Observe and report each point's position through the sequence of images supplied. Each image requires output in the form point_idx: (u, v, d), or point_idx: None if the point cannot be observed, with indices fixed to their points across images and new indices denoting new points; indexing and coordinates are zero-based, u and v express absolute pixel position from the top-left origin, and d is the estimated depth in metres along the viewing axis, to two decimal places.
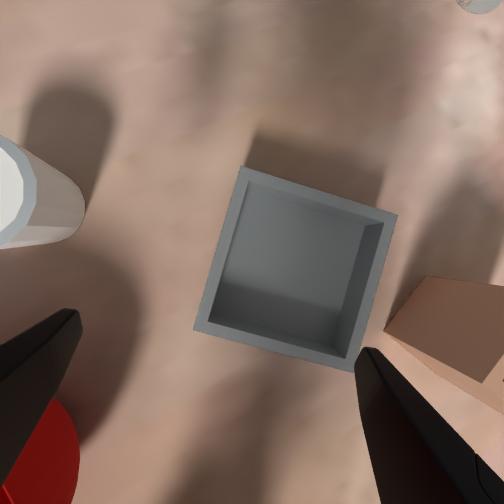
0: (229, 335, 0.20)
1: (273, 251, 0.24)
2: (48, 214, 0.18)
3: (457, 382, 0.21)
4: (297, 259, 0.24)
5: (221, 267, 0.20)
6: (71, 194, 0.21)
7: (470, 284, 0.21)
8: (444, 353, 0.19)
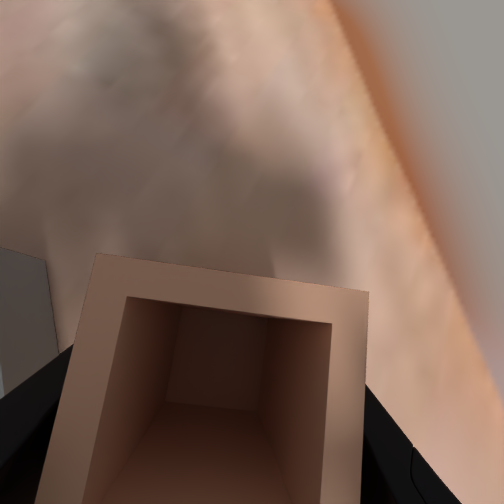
0: None
1: None
2: None
3: None
4: None
5: None
6: None
7: None
8: None
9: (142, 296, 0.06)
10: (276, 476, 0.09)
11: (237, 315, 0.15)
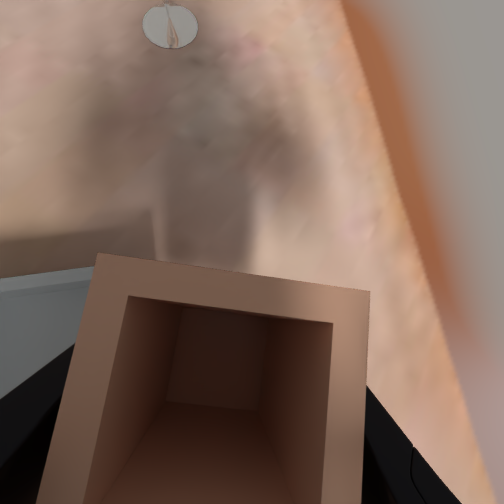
0: None
1: (47, 352, 0.20)
2: None
3: None
4: None
5: None
6: None
7: None
8: None
9: (143, 295, 0.06)
10: (277, 475, 0.09)
11: (237, 315, 0.15)
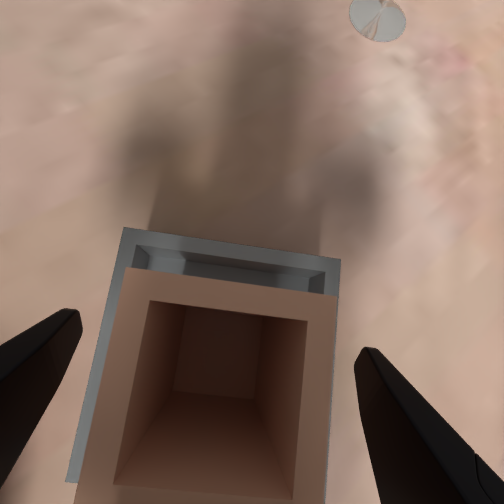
0: None
1: None
2: None
3: None
4: None
5: None
6: None
7: None
8: None
9: (161, 300, 0.08)
10: (267, 446, 0.10)
11: (236, 314, 0.17)
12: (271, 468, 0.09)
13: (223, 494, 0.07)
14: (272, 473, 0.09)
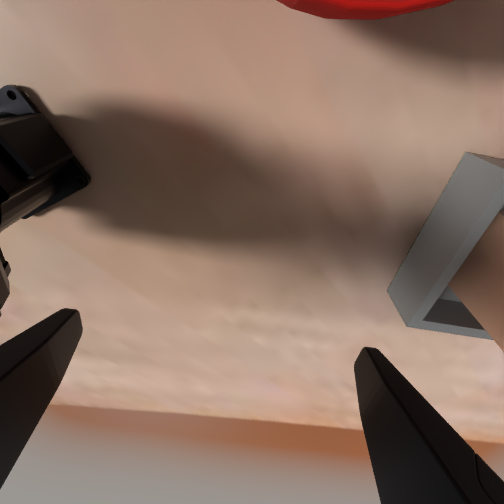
0: (486, 215, 0.17)
1: None
2: None
3: (498, 297, 0.18)
4: None
5: None
6: None
7: None
8: None
9: None
10: None
11: None
12: None
13: None
14: None
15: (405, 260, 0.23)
